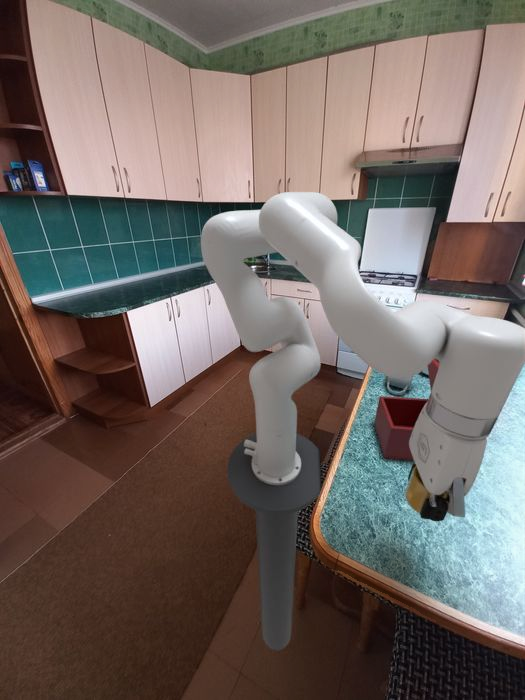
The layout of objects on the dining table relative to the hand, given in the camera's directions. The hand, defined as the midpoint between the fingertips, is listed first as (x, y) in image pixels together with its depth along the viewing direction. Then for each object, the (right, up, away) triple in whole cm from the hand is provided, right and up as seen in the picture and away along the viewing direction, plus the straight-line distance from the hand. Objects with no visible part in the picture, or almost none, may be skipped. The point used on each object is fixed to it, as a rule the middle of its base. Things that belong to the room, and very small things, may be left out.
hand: (424, 498), depth 46 cm
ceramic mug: (+20, +11, +53) cm, 58 cm away
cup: (0, 0, 0) cm, 1 cm away
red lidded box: (+12, -1, +31) cm, 33 cm away
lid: (+16, +14, +22) cm, 31 cm away
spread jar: (+38, +16, +62) cm, 74 cm away
